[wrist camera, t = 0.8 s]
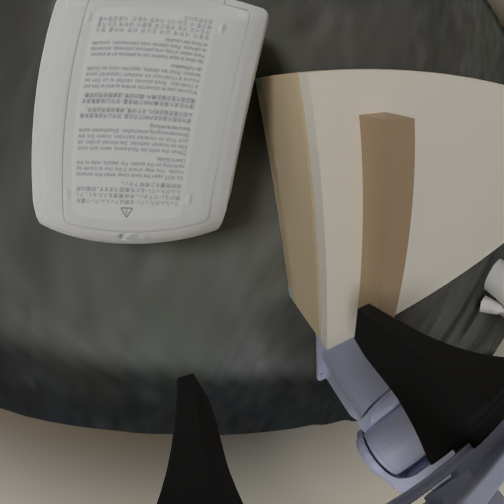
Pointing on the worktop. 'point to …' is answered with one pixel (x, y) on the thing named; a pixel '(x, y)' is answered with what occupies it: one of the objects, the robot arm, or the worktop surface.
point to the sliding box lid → (400, 185)
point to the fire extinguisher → (494, 289)
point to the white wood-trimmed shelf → (502, 307)
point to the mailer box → (294, 187)
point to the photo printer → (142, 116)
